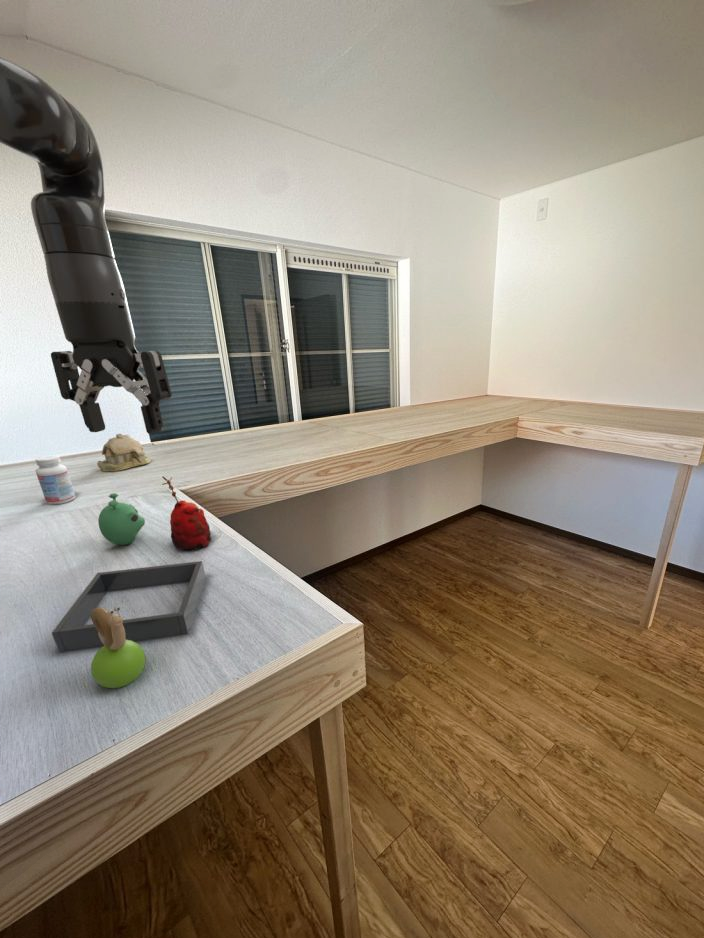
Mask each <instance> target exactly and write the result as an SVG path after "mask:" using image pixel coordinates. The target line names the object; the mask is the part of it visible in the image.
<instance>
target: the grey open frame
mask: <svg viewBox="0 0 704 938" xmlns="http://www.w3.org/2000/svg"><path fill="white" fill-rule="evenodd" d="M206 578H207V577H206V573H205V568H204V563H203V561H201V560H200V561H199V560H198V561H190V562H182V563H172V564H165V565H155V566H147V567H137V568H129V569H119V570H111V571H103V572H97V573H96V574H95V575H94V577H93V578H92V579H91V581H89V583H88V585H87V586H86V587H85V588H84V590H83V591H82V592H81V593H80V595H79V596H78V598H77V599H76V600H75V602H74V603H73V604H72V605H71V607H70V608H69V609H68V610H67V612H66V614H64V616H63V617H62V619H61V620H60V621H59V622H58V624H57V625H56V626H55V628H54V629H53V631H52V632H51V636H52V638H53V640H54V643H55V645H56V647H57V650H58V653H59V654H60V653H67V652H75V651H81V650H82V651H83V650H88V649H95V648H102V647H103V646H104V644H103V643H102V642H101V640H100V638H99V635H98V631H97V629H96V628H95V626H94V624H93V623H91V624H90V623H89V624H86V623H87V622H88V620H89V619H90V618H91V612H92V610H93V609H95V608H97V607H99V604H100V602H102V600H103V598H104V596H105V595H106V594H107V593H109V592H117V591H126V590H127V591H128V590H134V589H142V588H150V587H160V586H166V585H167V586H168V585H174V584H183V583H188V585H187V588H186V591H185V594H184V597H183V599H182V603H181V604H180V607H179V610H178V612H172V613H165V614H158V615H157V614H156V615H150V616H142V617H135V618H128V619H127V618H126V619H123V623H122V624H123V626H124V629H125V636H126V640H131V641H133V642H136V643H137V642H143V641H151V640H158V639H163V638H165V639H166V638H172V637H178V636H185V635H189V633H190V629H191V627H192V623H193V620H194V617H195V614H196V610H197V607H198V603H199V601H200V598H201V594H202V591H203V588H204V584H205V582H206Z"/></svg>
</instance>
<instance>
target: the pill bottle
mask: <svg viewBox="0 0 704 938" xmlns="http://www.w3.org/2000/svg"><path fill="white" fill-rule="evenodd" d="M34 460H35V463H36V465H37V466H38V467H37V468H36V470H35V474H36V477H37V480H38V483H39V486H40V488H41V492H42V494H43V497H44V500H45V502H46V504H48V505H62V504H67V503H69V502H71V501H73V500H75V499H76V497H77V496H76V493H75V490H74V487H73V483H72V481H71V478H70V474H69V471H68V468H67V467H66V466H65V464H62V463H61V458H60V456H59V455H57V454H49V455H41V456H39V457H36V458H35V459H34Z"/></svg>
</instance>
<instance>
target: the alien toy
mask: <svg viewBox="0 0 704 938" xmlns="http://www.w3.org/2000/svg"><path fill="white" fill-rule="evenodd" d="M118 496H119V494H118V493H116V492H114V493H110V494H109V495H108V497H109V498H110V499H112V500H110V501H109V502H108V503H107V504H108V505H106V506H104V507H103V509H102V510H101V511H100V513H99V516H98V519H97V520H98V521H97V522H98V528H99V531H100V533H101V535H102V537H104V539H105V540H106V541H108V542H109V543H111V544H114V545H118V546H125V545H129V544H131V543H133V542H134V541H136V540H137V539H138V538H139V536H140V534H139V533H140V530H142V528H143V527H144V525H145V524H146V520H145V517H143V516H140V515H139V511H138V510H137V509H136V508H135V506H134V505H132V504H131V503H130V504H129V503H126V502H118V501H117V498H118Z"/></svg>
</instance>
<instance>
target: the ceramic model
mask: <svg viewBox="0 0 704 938" xmlns="http://www.w3.org/2000/svg"><path fill="white" fill-rule="evenodd" d="M101 455H103V456H104V457H105V460H98V461H97V463H96V464H97V467H98V468H99V469H100V471H104V472H117V471H122V470H126V469H129V468H134V467H138V466H143V465H146V464H149V463H151V461H152V459H151V458H150V457H148V456H146V452H145V451H144V447H143V445H142V444H141V443H140V442H139V441H138V440H136V439H134V438H133V437H131V436H130V435H128V434H122V433H117V434H116V436H114V437H111V438H109V439H108V441H107V442H105V444H104V445H103V447H102V450H101Z"/></svg>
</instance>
